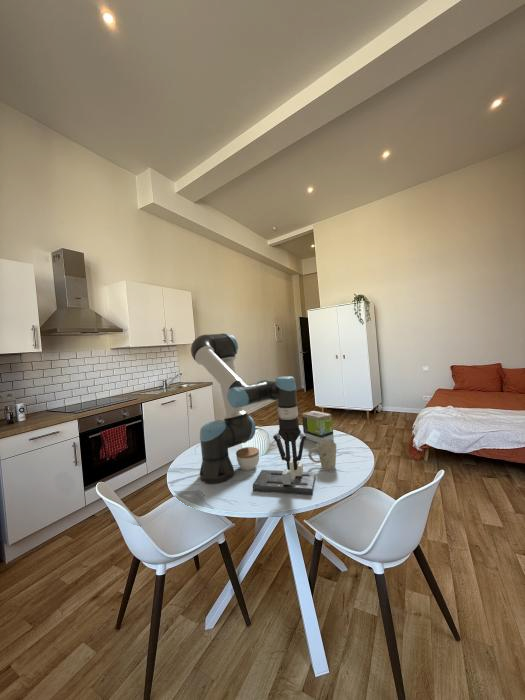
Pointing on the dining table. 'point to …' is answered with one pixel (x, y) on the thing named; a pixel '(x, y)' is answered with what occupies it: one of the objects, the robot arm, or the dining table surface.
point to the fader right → (286, 477)
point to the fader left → (299, 469)
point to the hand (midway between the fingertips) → (293, 477)
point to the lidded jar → (248, 458)
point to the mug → (325, 454)
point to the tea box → (318, 426)
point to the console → (274, 484)
